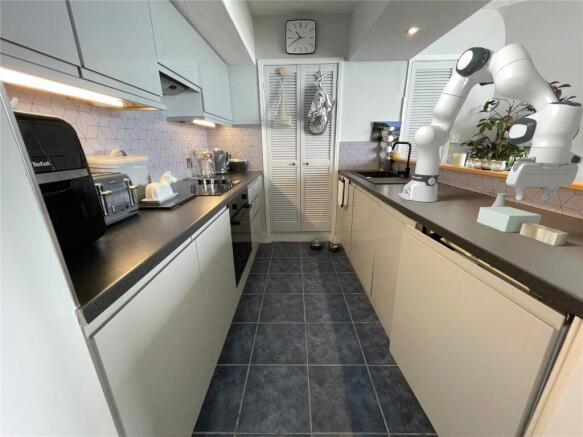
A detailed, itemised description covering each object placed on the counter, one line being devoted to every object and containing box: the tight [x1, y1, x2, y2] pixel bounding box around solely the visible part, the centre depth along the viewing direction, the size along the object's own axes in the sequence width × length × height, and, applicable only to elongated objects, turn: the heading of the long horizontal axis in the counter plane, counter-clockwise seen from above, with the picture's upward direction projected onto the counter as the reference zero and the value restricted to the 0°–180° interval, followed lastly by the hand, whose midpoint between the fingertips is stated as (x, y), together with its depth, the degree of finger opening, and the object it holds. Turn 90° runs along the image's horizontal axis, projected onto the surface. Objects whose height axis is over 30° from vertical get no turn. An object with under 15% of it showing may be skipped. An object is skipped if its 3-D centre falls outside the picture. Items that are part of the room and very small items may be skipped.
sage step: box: [476, 206, 542, 233], centre depth 88 cm, size 12×12×6 cm
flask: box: [490, 192, 508, 207], centre depth 100 cm, size 7×7×10 cm
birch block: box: [519, 223, 570, 246], centre depth 76 cm, size 4×4×10 cm
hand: (532, 199), depth 79 cm, fingers open, 8 cm apart
